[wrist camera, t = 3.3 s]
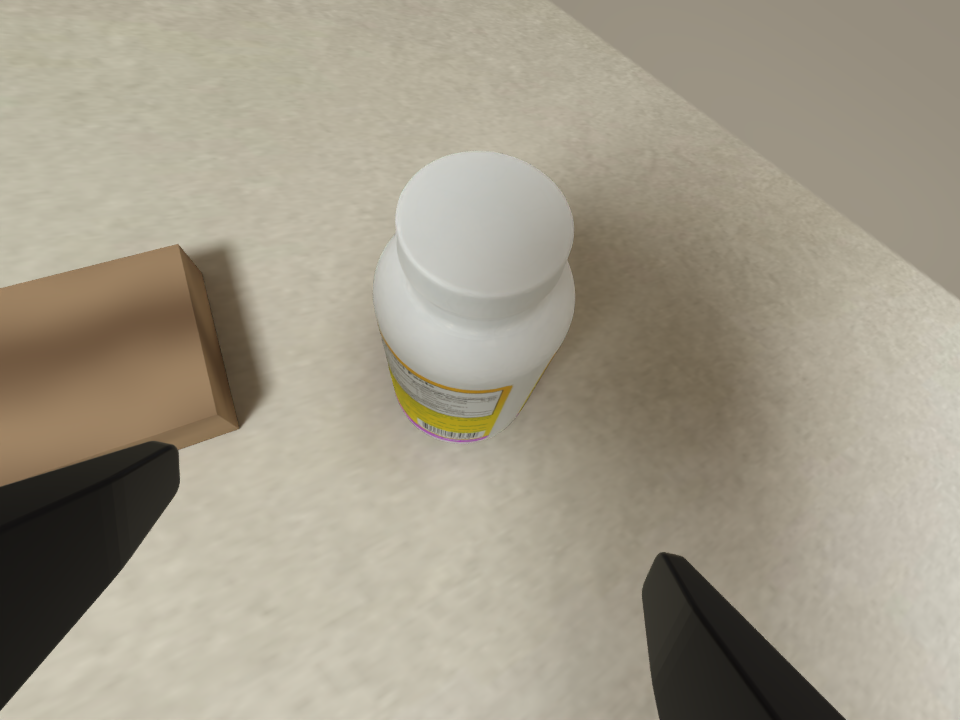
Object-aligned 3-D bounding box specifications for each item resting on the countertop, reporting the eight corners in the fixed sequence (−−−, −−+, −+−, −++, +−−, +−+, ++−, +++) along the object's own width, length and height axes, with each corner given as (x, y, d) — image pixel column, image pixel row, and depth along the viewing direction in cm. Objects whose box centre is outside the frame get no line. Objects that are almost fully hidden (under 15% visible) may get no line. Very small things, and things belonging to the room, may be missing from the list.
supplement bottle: (480, 303, 26) (522, 92, 14) (550, 403, 24) (667, 258, 12) (369, 361, 24) (309, 173, 12) (436, 474, 22) (443, 383, 10)
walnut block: (239, 428, 22) (217, 414, 20) (19, 504, 20) (-35, 498, 18) (201, 272, 25) (178, 244, 23) (5, 324, 23) (-43, 299, 20)
